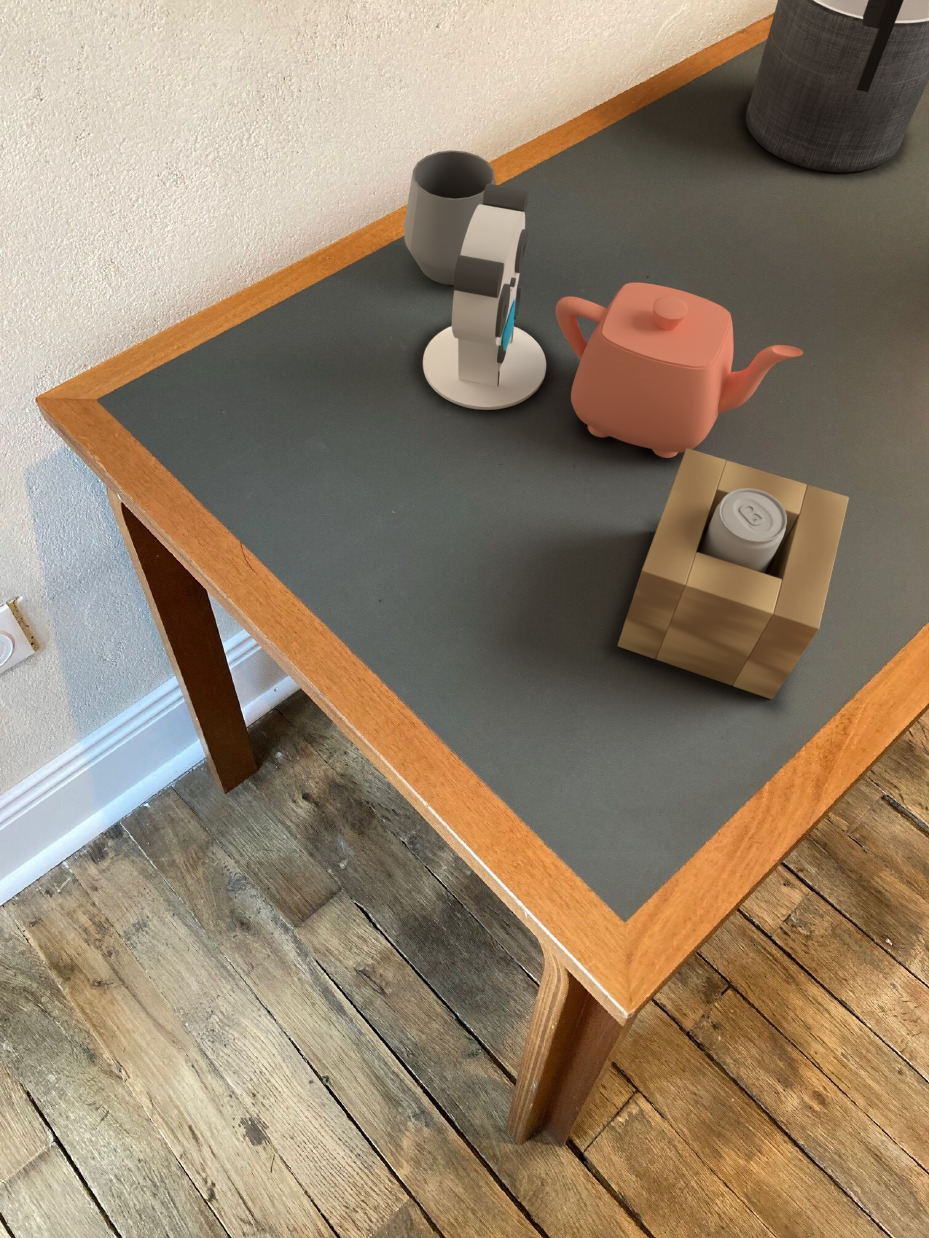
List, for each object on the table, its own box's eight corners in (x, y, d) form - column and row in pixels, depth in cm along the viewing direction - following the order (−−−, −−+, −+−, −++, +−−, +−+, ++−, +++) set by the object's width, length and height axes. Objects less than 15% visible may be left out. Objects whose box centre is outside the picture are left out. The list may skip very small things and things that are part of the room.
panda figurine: (530, 425, 83) (547, 284, 70) (406, 401, 84) (401, 257, 71) (556, 335, 89) (576, 190, 76) (440, 313, 90) (441, 167, 78)
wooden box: (802, 576, 75) (849, 496, 66) (772, 700, 69) (819, 629, 60) (658, 530, 77) (686, 447, 69) (617, 646, 71) (641, 570, 63)
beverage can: (702, 646, 71) (746, 553, 61) (665, 599, 73) (702, 502, 63) (752, 621, 73) (804, 526, 62) (715, 575, 75) (758, 476, 65)
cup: (466, 227, 97) (468, 133, 89) (517, 277, 93) (525, 184, 85) (387, 257, 95) (382, 164, 86) (437, 311, 90) (437, 218, 82)
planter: (845, 76, 115) (899, -72, 102) (931, 157, 106) (1002, 7, 93) (717, 101, 111) (755, -49, 98) (795, 187, 103) (849, 35, 89)
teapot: (522, 428, 83) (534, 319, 72) (566, 343, 89) (583, 231, 78) (744, 499, 79) (790, 395, 69) (775, 406, 85) (821, 297, 75)
